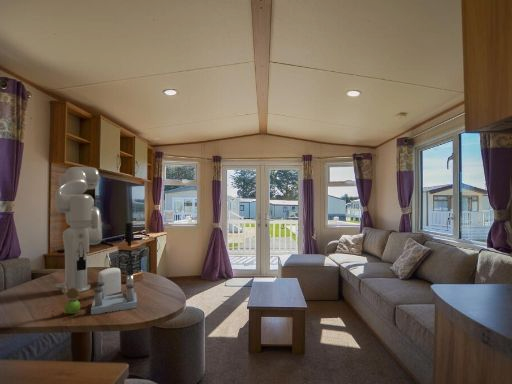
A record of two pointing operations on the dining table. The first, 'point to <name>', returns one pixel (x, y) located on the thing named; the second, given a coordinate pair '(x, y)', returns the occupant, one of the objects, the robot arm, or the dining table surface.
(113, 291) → the photo printer
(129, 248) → the whiskey bottle
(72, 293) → the snail figurine
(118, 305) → the stool frame
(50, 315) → the dining table surface
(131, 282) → the hinged leg
